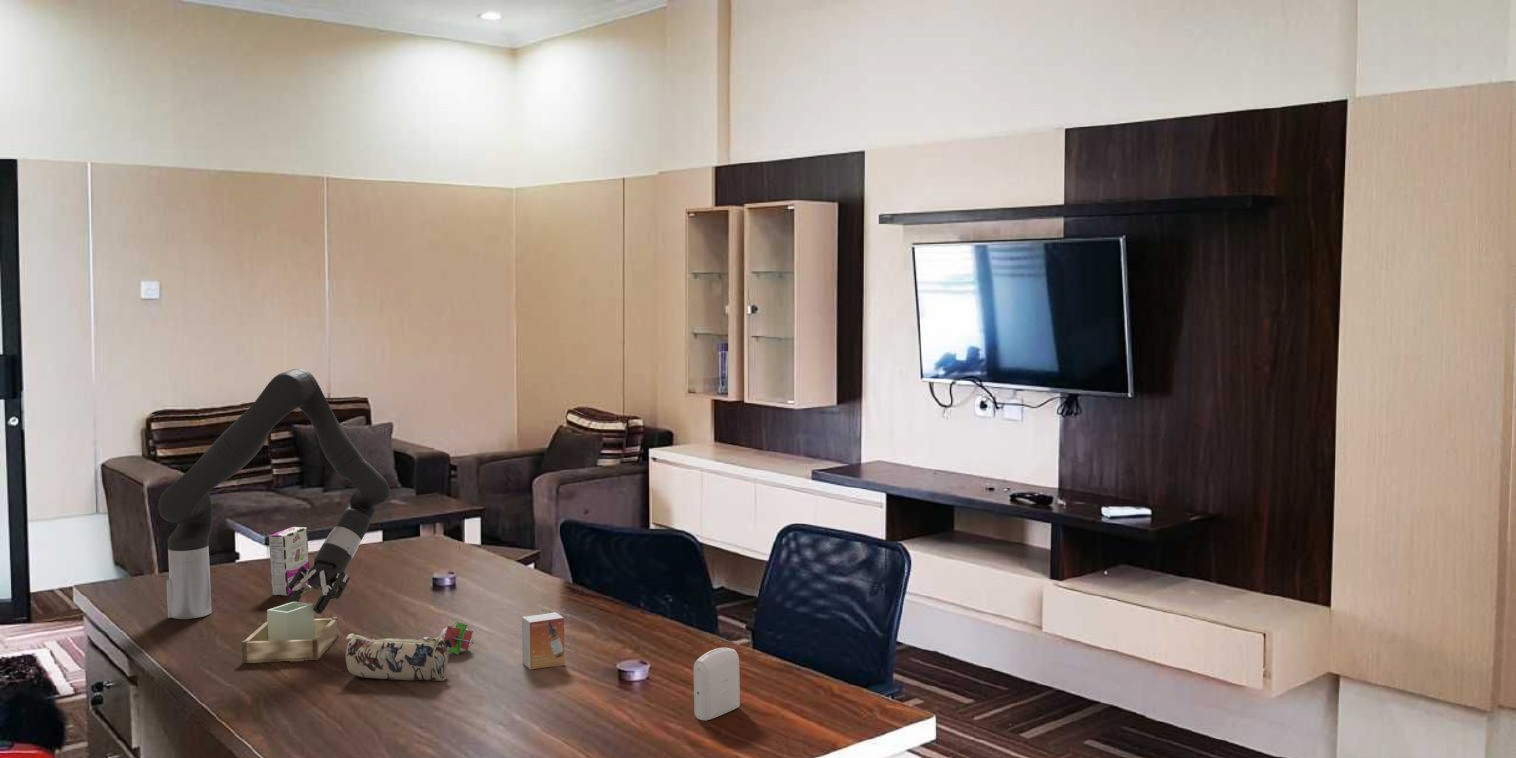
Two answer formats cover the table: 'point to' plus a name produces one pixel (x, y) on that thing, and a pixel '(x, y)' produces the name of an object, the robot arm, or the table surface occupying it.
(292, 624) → the box
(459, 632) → the geometric puzzle
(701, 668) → the photo printer
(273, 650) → the wooden tray
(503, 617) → the table surface
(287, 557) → the candy bar box
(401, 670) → the pencil case
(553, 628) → the small box
